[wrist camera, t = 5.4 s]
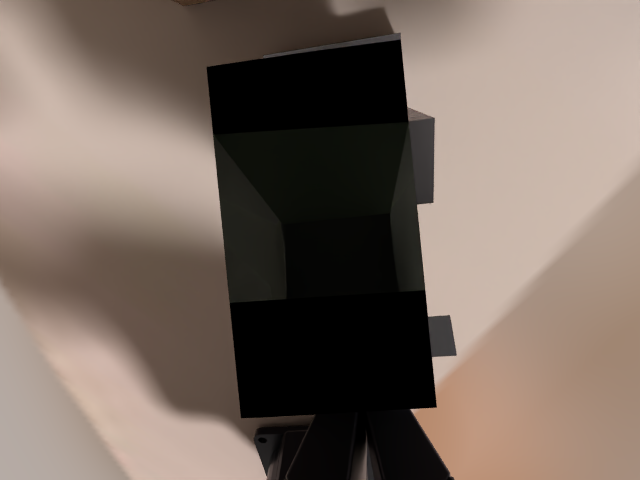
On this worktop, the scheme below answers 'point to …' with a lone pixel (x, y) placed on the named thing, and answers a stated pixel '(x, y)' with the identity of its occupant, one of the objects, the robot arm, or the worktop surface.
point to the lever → (323, 234)
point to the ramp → (189, 2)
